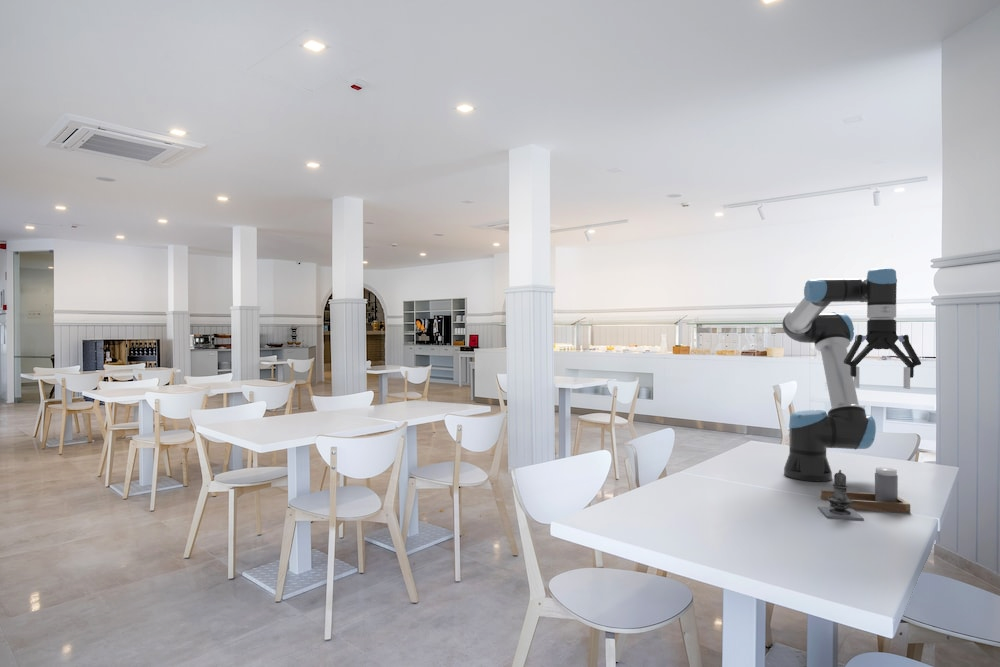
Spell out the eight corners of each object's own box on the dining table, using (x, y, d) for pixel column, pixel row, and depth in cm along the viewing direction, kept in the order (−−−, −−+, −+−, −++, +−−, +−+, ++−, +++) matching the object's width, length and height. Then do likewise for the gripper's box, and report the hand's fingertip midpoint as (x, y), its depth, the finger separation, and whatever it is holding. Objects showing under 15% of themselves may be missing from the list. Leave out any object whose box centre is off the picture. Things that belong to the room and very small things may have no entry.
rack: (820, 498, 179) (820, 490, 179) (894, 502, 174) (894, 494, 174) (831, 508, 169) (831, 499, 169) (910, 513, 164) (910, 504, 164)
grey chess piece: (855, 515, 160) (855, 472, 159) (832, 514, 161) (832, 471, 161) (847, 509, 165) (847, 467, 165) (825, 508, 166) (825, 466, 166)
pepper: (871, 503, 173) (871, 466, 173) (892, 504, 172) (892, 467, 172) (879, 508, 168) (879, 471, 168) (901, 510, 166) (901, 472, 166)
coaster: (817, 508, 168) (817, 506, 168) (852, 510, 166) (852, 508, 166) (827, 517, 160) (827, 515, 160) (863, 520, 157) (863, 518, 157)
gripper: (840, 319, 177) (839, 388, 177) (934, 318, 171) (934, 390, 171) (832, 319, 184) (832, 385, 184) (922, 319, 178) (922, 387, 178)
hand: (881, 388), depth 178 cm, fingers open, 13 cm apart
